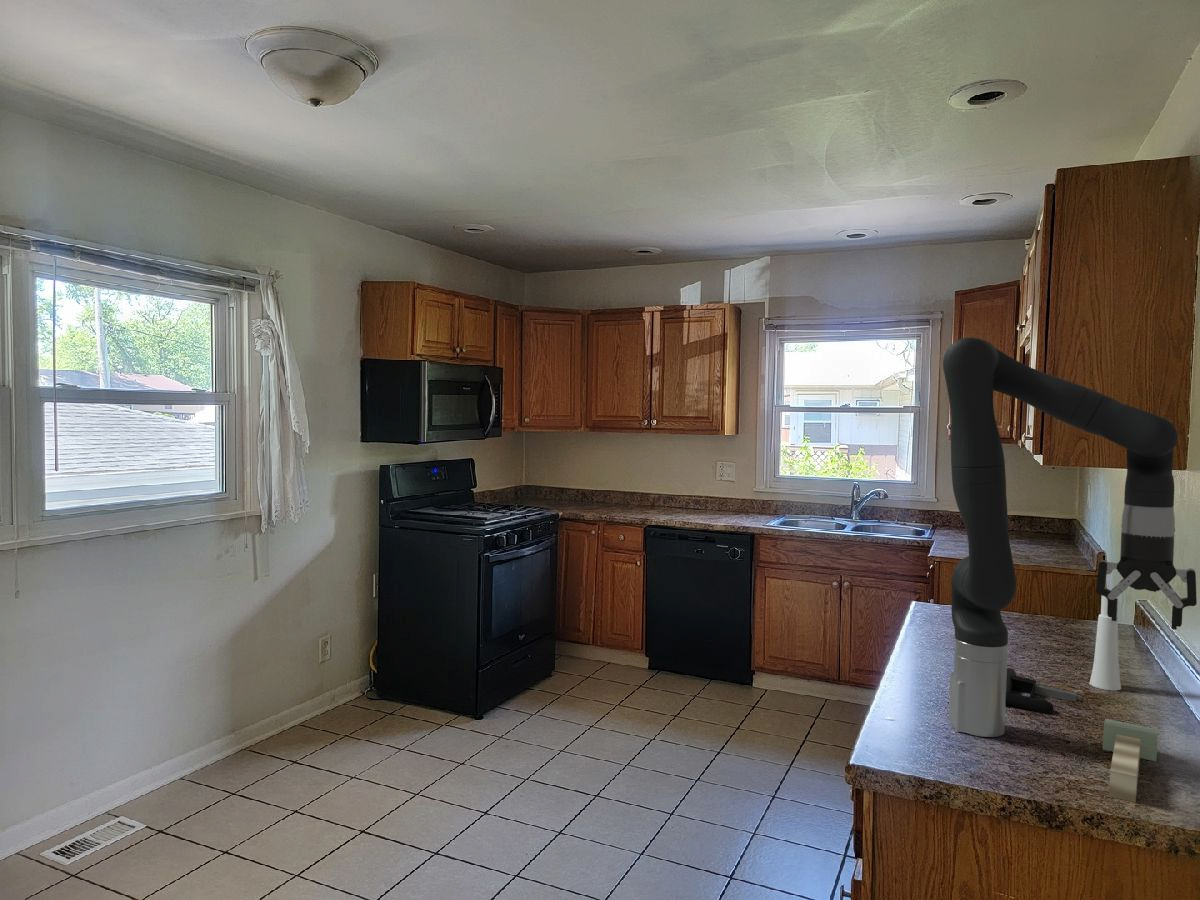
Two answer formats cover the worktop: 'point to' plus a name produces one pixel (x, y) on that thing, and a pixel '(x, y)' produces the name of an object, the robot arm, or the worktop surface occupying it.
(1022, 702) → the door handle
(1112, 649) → the cosmetic bottle
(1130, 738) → the bar
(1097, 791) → the worktop surface
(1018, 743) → the worktop surface
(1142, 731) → the ridge
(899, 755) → the worktop surface
